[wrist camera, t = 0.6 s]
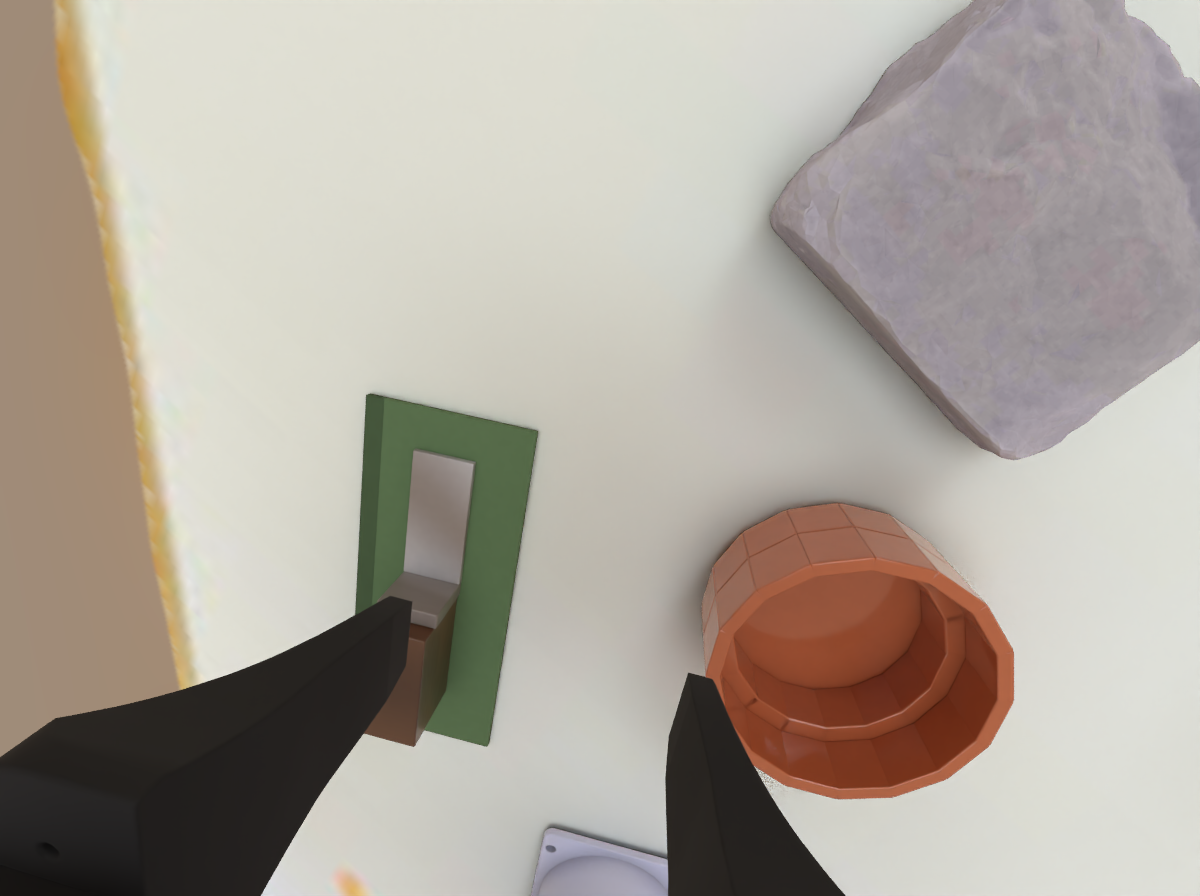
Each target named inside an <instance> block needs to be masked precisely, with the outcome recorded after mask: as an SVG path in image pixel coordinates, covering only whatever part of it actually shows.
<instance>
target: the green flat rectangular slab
mask: <svg viewBox="0 0 1200 896" xmlns="http://www.w3.org/2000/svg"><path fill="white" fill-rule="evenodd" d="M537 435H538V431H536V430H531V429H527V428H522V427H518V426H513V425H509V424H504V423H500V422H495V421H491V420H486V419H482V418H477V417H473V416H468V415H464V414H459V413H455V412H450V411H446V410H441V409H437V408H433V407H428V406H424V405H419V404H415V403H410V402H406V401H401V400H397V399H392V398H388V397H383V396H379V395H374V394H368V395H366V411H365V431H364V451H363V471H362V491H361V511H360V531H359V552H358V572H357V592H356V612H355V615H356V614H358V613H360V612H362V611H363V610H365V609H367V608H369V607H371V606H372V605H374V604H376V603H377V601H378V599H379V598H380V597H381V596H382V595H383V594H384V593H385V592H386V591H387V589H388V588H389V587H390V586H391V585H392V584H393V583H394V582H395V581H396V580H397V579H398V578H399V576H400V575H401V574H402V573H403V572H404V560H405V547H406V535H407V523H408V510H409V498H410V486H411V473H412V461H413V451H414V450H415V449H421V450H425V451H430V452H434V453H439V454H443V455H447V456H452V457H456V458H460V459H465V460H469V461H473V462H476V465H475V474H474V482H473V490H472V498H471V507H470V515H469V523H468V531H467V540H466V548H465V556H464V564H463V573H462V581H461V587H460V594H459V596H458V597H457V603H456V611H455V619H454V628H453V636H452V644H451V653H450V661H449V670H448V678H447V686H446V691H445V693H444V695H443V697H442V699H441V700H440V702H439V704H438V706H437V707H436V709H435V711H434V713H433V715H432V716H431V718H430V720H429V722H428V724H427V725H426V727H425V729H424V730H426V731H430V732H434V733H437V734H441V735H445V736H449V737H452V738H456V739H460V740H464V741H467V742H471V743H475V744H479V745H482V746H486V747H487V746H488V744H489V740H490V733H491V727H492V721H493V714H494V708H495V702H496V695H497V689H498V683H499V676H500V670H501V664H502V657H503V651H504V645H505V638H506V632H507V625H508V619H509V613H510V606H511V600H512V594H513V587H514V581H515V575H516V568H517V562H518V556H519V549H520V543H521V537H522V530H523V524H524V517H525V511H526V505H527V498H528V492H529V486H530V479H531V473H532V467H533V460H534V454H535V448H536V441H537Z"/></svg>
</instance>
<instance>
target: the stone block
mask: <svg viewBox="0 0 1200 896" xmlns="http://www.w3.org/2000/svg"><path fill="white" fill-rule="evenodd" d="M770 218H771V225H772V228H773V229H774V231H775V232H776V233H777V234H778V235H779V236H780V237H781V238H782V239H783V240H784V241H785V242H786V244H787V245H788V246H789V247H790V248H791V249H792V251H793V252H794V253H795V254H796V255H797V256H798V257H799V258H800V259H801V260H802V261H803V262H804V263H805V264H806V265H807V266H808V267H809V268H810V270H811V271H812V272H813V273H814V274H815V275H816V276H817V277H818V278H819V279H820V280H821V282H822V283H823V284H824V285H825V286H826V287H827V288H828V289H829V290H830V291H831V292H832V293H833V294H834V295H835V296H836V297H837V298H838V299H839V301H840V302H841V303H842V304H843V305H844V306H845V307H846V308H847V309H848V310H849V311H850V313H851V314H852V315H853V316H854V317H855V318H856V319H857V320H858V322H859V323H860V324H861V325H862V326H863V327H864V328H865V329H866V330H867V331H868V332H869V333H870V335H871V336H872V337H873V338H874V339H875V340H876V341H877V342H878V343H879V344H880V345H881V346H882V347H883V348H884V350H885V351H886V352H887V353H888V354H889V355H890V356H891V357H892V358H893V359H894V360H895V361H896V362H897V363H898V364H899V365H900V366H901V367H902V368H903V370H904V371H905V372H906V373H907V374H908V375H909V376H910V377H911V378H912V379H913V380H914V381H915V382H916V383H917V384H918V386H919V387H920V388H921V389H922V390H923V391H924V392H925V394H926V395H927V396H928V397H929V398H930V399H931V400H932V402H933V403H934V404H936V405H937V406H938V408H939V409H940V410H941V411H942V413H943V414H944V415H945V416H946V417H947V418H948V419H949V420H950V421H951V422H952V423H953V424H954V426H955V427H956V428H957V429H958V430H960V431H961V432H962V433H963V434H964V435H966V436H967V437H968V438H969V439H970V440H972V441H973V442H974V443H975V444H976V445H978V446H979V447H980V448H983V449H985V450H988V451H990V452H993V453H994V454H996V455H998V456H1000V457H1001V458H1006V459H1011V460H1017V459H1021V458H1025V457H1028V456H1031V455H1034V454H1037V453H1039V452H1042V451H1044V450H1047V449H1049V448H1051V447H1053V446H1054V445H1056V444H1058V443H1059V442H1061V441H1062V440H1063V439H1064V438H1065V437H1066V436H1067V435H1068V434H1069V433H1070V432H1072V431H1074V430H1075V429H1077V428H1079V427H1080V426H1082V425H1084V424H1085V423H1087V422H1088V421H1089V420H1090V419H1091V418H1092V417H1094V416H1095V415H1096V414H1097V413H1098V412H1099V411H1100V410H1101V409H1102V408H1104V407H1106V406H1107V405H1109V404H1110V403H1112V402H1113V401H1115V400H1116V399H1118V398H1119V397H1120V396H1122V395H1123V394H1124V393H1126V392H1127V391H1129V390H1130V389H1132V388H1133V387H1135V386H1136V385H1138V384H1139V383H1141V382H1142V381H1144V380H1145V379H1146V378H1147V377H1149V376H1150V375H1151V374H1153V373H1154V372H1156V371H1157V370H1159V369H1160V368H1162V367H1163V366H1165V365H1166V364H1168V363H1170V362H1171V361H1172V360H1174V359H1175V358H1177V357H1179V356H1181V355H1182V354H1183V353H1184V352H1186V351H1187V350H1188V349H1189V348H1191V347H1192V346H1193V345H1195V344H1196V343H1197V342H1198V341H1200V87H1199V85H1198V84H1197V83H1196V82H1195V81H1194V80H1193V79H1192V78H1187V77H1184V75H1183V73H1182V70H1181V67H1180V64H1179V63H1178V61H1177V60H1176V58H1175V57H1174V55H1173V54H1172V53H1171V49H1170V46H1169V45H1168V44H1167V43H1165V42H1164V41H1163V40H1162V39H1160V38H1159V37H1158V36H1157V35H1156V34H1155V32H1154V31H1153V29H1152V28H1150V27H1149V26H1148V25H1147V24H1146V23H1144V22H1142V21H1141V20H1139V19H1137V18H1135V17H1132V16H1129V15H1128V14H1127V12H1126V10H1125V0H974V1H973V2H972V3H971V4H970V5H969V6H968V7H967V8H966V9H964V10H963V11H961V12H959V13H958V14H956V15H955V16H953V17H952V18H951V19H950V20H948V21H947V22H946V23H945V24H944V25H943V26H942V27H941V28H940V29H939V30H937V31H936V32H935V33H934V34H933V35H931V36H930V37H928V38H927V39H925V40H923V41H921V42H918V43H916V44H915V45H914V46H913V47H912V48H911V49H910V50H909V51H908V52H907V53H906V54H905V55H903V56H902V57H900V58H899V59H898V60H896V61H895V62H894V63H892V64H891V65H890V66H889V67H888V69H887V70H886V72H885V73H884V75H883V76H882V77H881V79H880V80H879V82H878V84H877V85H876V87H875V89H874V91H873V92H872V94H871V95H870V96H869V98H868V99H867V100H866V101H865V102H864V103H863V104H862V105H861V107H860V108H859V110H858V111H857V112H856V114H855V115H854V117H853V119H852V121H851V122H850V123H849V125H848V126H847V127H846V128H845V129H844V131H843V132H842V133H841V134H840V136H839V137H838V138H837V139H836V140H834V141H833V142H832V143H830V144H829V145H827V146H826V147H825V148H824V149H822V150H821V151H819V152H817V153H815V154H814V155H812V156H811V157H810V158H809V160H808V161H807V162H806V163H805V164H804V165H803V166H802V167H801V168H800V170H799V171H798V172H797V173H796V175H795V176H794V177H793V178H792V179H791V181H790V182H789V183H788V184H787V185H786V187H785V189H784V190H783V192H782V193H781V195H780V197H779V199H778V200H777V201H776V203H775V205H774V207H773V210H772V212H771V215H770Z"/></svg>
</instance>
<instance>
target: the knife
mask: <svg viewBox="0 0 1200 896" xmlns="http://www.w3.org/2000/svg"><path fill="white" fill-rule="evenodd" d="M475 465H476V462H473V461H469V460H465V459H460V458H456V457H452V456H447V455H443V454H439V453H434V452H430V451H425V450H421V449H415V450H414V451H413V461H412V473H411V486H410V498H409V510H408V523H407V535H406V547H405V560H404V572H403V573H402V574H401V575H400V576H399V578H398V579H397V580H396V581H395V582H394V583H393V584H392V585H391V586H390V587H389V588H388V589H387V591H386V592H385V593H384V594H383V595H382V596H381V597H380V598H379V599H378V601H377V603H378V602H379V601H381V600H383V599H385V598H387V597H389V596H393V597H397V598H401V599H405V600H409V601H413V602H412V612H411V622H410V632H409V642H408V651H407V661H406V667H405V669H404V671H403V672H402V674H401V676H400V678H399V680H398V682H397V684H396V685H395V687H394V689H393V691H392V692H391V694H390V696H389V698H388V699H387V701H386V703H385V704H384V706H383V707H382V708H381V710H380V711H379V713H378V714H377V715H376V717H375V718H374V720H373V721H372V722H371V724H370V725H369V727H368V728H367V729H366V731H365V732H364V734H368V735H372V736H375V737H379V738H383V739H386V740H390V741H394V742H398V743H401V744H405V745H409V746H412V747H414V746H415V745H416V743H417V741H418V740H419V738H420V736H421V734H422V732H423V731H424V729H425V727H426V725H427V724H428V722H429V720H430V718H431V716H432V715H433V713H434V711H435V709H436V707H437V706H438V704H439V702H440V700H441V699H442V697H443V695H444V693H445V691H446V686H447V678H448V670H449V661H450V653H451V644H452V636H453V628H454V619H455V611H456V603H457V597H458V596H459V594H460V587H461V581H462V573H463V564H464V556H465V548H466V540H467V531H468V523H469V515H470V507H471V498H472V490H473V482H474V474H475Z"/></svg>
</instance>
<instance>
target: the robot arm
mask: <svg viewBox="0 0 1200 896" xmlns="http://www.w3.org/2000/svg"><path fill="white" fill-rule="evenodd" d="M412 602H413V601H409V600H405V599H401V598H397V597H393V596H389V597H387V598H385V599H383V600H381V601H379V602H378V603H376V604H374V605H372V606H371V607H369V608H367V609H365V610H363V611H362V612H360V613H358V614H356V615H355V616H353V617H351V618H349V619H347V620H346V621H344V622H342V623H340V624H338V625H336V626H335V627H333V628H331V629H329V630H327V631H325V632H323V633H322V634H320V635H318V636H316V637H313V638H311V639H309V640H307V641H305V642H303V643H301V644H299V645H297V646H295V647H293V648H291V649H289V650H287V651H285V652H283V653H281V654H278V655H276V656H274V657H272V658H269V659H267V660H264V661H262V662H260V663H257V664H255V665H252V666H250V667H247V668H245V669H242V670H239V671H237V672H234V673H231V674H229V675H226V676H223V677H220V678H217V679H214V680H211V681H208V682H205V683H202V684H199V685H195V686H192V687H189V688H186V689H183V690H180V691H176V692H173V693H169V694H165V695H162V696H158V697H154V698H151V699H146V700H143V701H138V702H134V703H130V704H126V705H121V706H117V707H112V708H107V709H103V710H97V711H92V712H87V713H82V714H77V715H72V716H66V717H60V718H55V719H54V720H52V721H51V722H49V723H48V724H47V725H45V726H44V727H42V728H41V729H39V730H38V731H37V732H35V733H34V734H32V735H31V736H30V737H28V738H27V739H25V740H24V741H22V742H21V743H20V744H18V745H17V746H15V747H14V748H13V749H11V750H10V751H8V752H7V753H6V754H4V755H3V756H1V757H0V896H261V894H262V892H263V891H264V889H265V887H266V885H267V883H268V882H269V880H270V878H271V876H272V875H273V873H274V871H275V869H276V868H277V866H278V864H279V862H280V861H281V859H282V857H283V855H284V854H285V852H286V850H287V848H288V847H289V845H290V843H291V842H292V840H293V838H294V836H295V835H296V833H297V831H298V830H299V828H300V826H301V825H302V823H303V821H304V820H305V818H306V816H307V815H308V813H309V811H310V810H311V808H312V806H313V805H314V803H315V801H316V800H317V798H318V797H319V795H320V794H321V792H322V791H323V789H324V788H325V786H326V785H327V783H328V782H329V780H330V779H331V778H332V776H333V775H334V773H335V772H336V771H337V769H338V768H339V767H340V765H341V764H342V762H343V761H344V760H345V758H346V757H347V756H348V754H349V753H350V751H351V750H352V749H353V747H354V746H355V745H356V743H357V742H358V740H359V739H360V738H361V736H362V735H363V734H364V732H365V731H366V729H367V728H368V727H369V725H370V724H371V722H372V721H373V720H374V718H375V717H376V715H377V714H378V713H379V711H380V710H381V708H382V707H383V706H384V704H385V703H386V701H387V699H388V698H389V696H390V694H391V692H392V691H393V689H394V687H395V685H396V684H397V682H398V680H399V678H400V676H401V674H402V672H403V671H404V669H405V667H406V661H407V651H408V642H409V632H410V622H411V612H412ZM666 821H667V855H668V859H664V858H661V857H657V856H653V855H650V854H646V853H643V852H639V851H635V850H632V849H628V848H624V847H621V846H617V845H614V844H610V843H606V842H603V841H599V840H595V839H592V838H588V837H585V836H581V835H577V834H574V833H570V832H566V831H563V830H559V829H556V828H549V829H547V830H546V831H545V833H544V837H543V841H542V846H541V850H540V855H539V860H538V864H537V869H536V874H535V878H534V883H533V888H532V892H531V896H845V894H844V893H843V892H842V891H841V890H840V889H839V888H838V887H837V885H836V884H835V883H834V882H833V881H832V879H831V878H830V877H829V876H828V875H827V873H826V872H825V871H824V870H823V868H822V867H821V866H820V865H819V863H818V862H817V861H816V859H815V858H814V857H813V856H812V854H811V853H810V852H809V850H808V849H807V848H806V847H805V845H804V844H803V843H802V841H801V840H800V839H799V837H798V836H797V834H796V833H795V832H794V830H793V829H792V828H791V826H790V825H789V823H788V822H787V820H786V819H785V817H784V816H783V814H782V813H781V811H780V810H779V808H778V806H777V805H776V803H775V802H774V800H773V798H772V797H771V795H770V793H769V792H768V790H767V789H766V787H765V785H764V783H763V782H762V780H761V778H760V776H759V774H758V773H757V771H756V769H755V767H754V765H753V764H752V762H751V760H750V758H749V756H748V754H747V752H746V750H745V748H744V746H743V744H742V742H741V740H740V738H739V736H738V734H737V732H736V730H735V728H734V726H733V723H732V721H731V719H730V717H729V715H728V712H727V710H726V708H725V705H724V703H723V701H722V698H721V696H720V694H719V691H718V689H717V686H716V684H715V682H714V681H713V679H710V678H707V677H703V676H699V675H695V674H691V673H688V675H687V679H686V682H685V685H684V688H683V692H682V695H681V698H680V702H679V705H678V708H677V711H676V715H675V718H674V721H673V725H672V728H671V731H670V734H669V742H668V753H667V765H666Z"/></svg>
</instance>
